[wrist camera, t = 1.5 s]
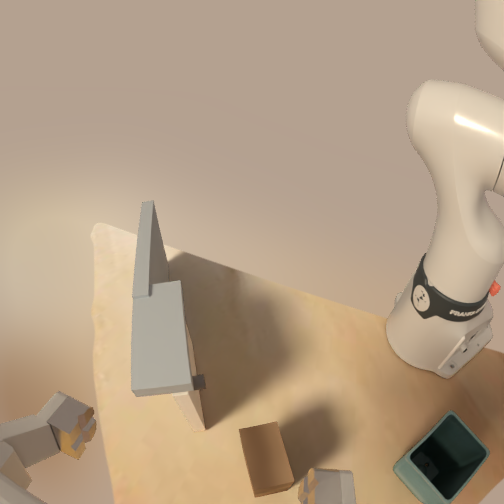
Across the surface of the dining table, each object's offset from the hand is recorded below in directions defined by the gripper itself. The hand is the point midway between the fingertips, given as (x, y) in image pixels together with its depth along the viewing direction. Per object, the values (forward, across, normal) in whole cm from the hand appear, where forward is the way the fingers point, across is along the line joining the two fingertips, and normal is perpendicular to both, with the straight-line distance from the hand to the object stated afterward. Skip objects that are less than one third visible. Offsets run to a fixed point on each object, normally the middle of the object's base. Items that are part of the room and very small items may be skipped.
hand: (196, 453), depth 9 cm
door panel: (+26, +4, +22) cm, 35 cm away
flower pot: (+15, -28, +22) cm, 38 cm away
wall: (+35, +10, +20) cm, 41 cm away
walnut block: (+16, -7, +25) cm, 30 cm away
